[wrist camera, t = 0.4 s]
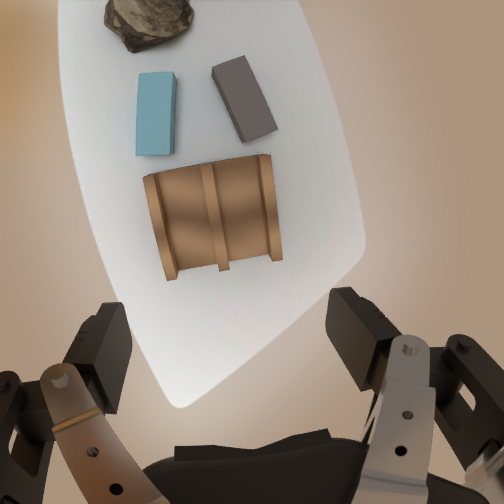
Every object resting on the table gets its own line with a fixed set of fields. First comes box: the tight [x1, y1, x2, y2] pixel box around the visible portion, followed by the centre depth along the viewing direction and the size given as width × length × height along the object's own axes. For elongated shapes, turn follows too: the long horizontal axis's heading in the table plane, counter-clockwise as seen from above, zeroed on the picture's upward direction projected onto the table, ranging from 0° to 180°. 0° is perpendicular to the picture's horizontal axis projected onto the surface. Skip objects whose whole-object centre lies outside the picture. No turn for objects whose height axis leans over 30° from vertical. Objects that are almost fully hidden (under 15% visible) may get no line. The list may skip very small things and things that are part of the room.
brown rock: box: [104, 0, 193, 53], centre depth 22 cm, size 11×9×10 cm
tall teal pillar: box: [136, 72, 176, 156], centre depth 28 cm, size 9×4×4 cm, turn 178°
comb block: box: [143, 154, 283, 281], centre depth 33 cm, size 12×14×4 cm
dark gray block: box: [212, 55, 278, 143], centre depth 29 cm, size 9×4×4 cm, turn 23°
